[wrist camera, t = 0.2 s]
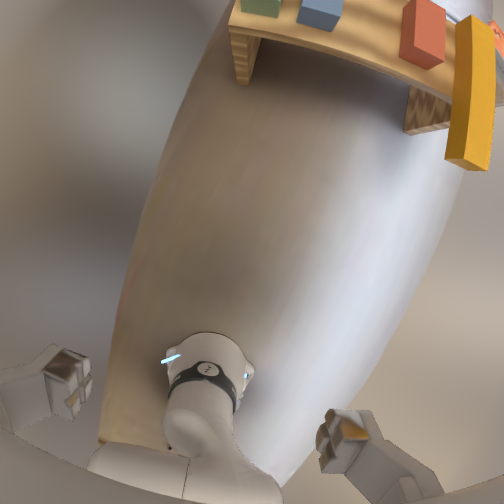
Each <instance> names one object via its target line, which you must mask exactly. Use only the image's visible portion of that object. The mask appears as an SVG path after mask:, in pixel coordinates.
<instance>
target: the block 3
mask: <svg viewBox="0 0 504 504" xmlns="http://www.w3.org/2000/svg"><path fill="white" fill-rule="evenodd" d="M445 40H446V10H445V9H443V8H442V7H440V6H438V5H436V4H434V3H433V2H431V1H429V0H410V1H409V2H408V3H407V4H406V5H405V6H404V7H403V16H402V28H401V39H400V48H399V57H400V58H402V59H404V60H406V61H409V62H411V63H413V64H415V65H417V66H419V67H421V68H423V69H426V70H429V69H431V68H433V67H435V66H437V65H439V64H441V63H443V62H444V61H445Z"/></svg>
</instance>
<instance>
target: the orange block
mask: <svg viewBox="0 0 504 504" xmlns="http://www.w3.org/2000/svg"><path fill="white" fill-rule="evenodd" d="M495 93H496V57H495V38H494V30H493V29H492V28H490V27H489V26H487V25H486V24H485V23H483V22H482V21H480V20H479V19H477V18H476V17H474V16H473V15H470V16H468V17H466V18H465V19H463V20H462V21H460V22H458V23H457V24H456V50H455V74H454V88H453V100H452V109H451V118H450V126H449V133H448V140H447V146H446V152H445V158H444V159H445V160H447V161H449V162H451V163H454V164H456V165H458V166H460V167H462V168H464V169H466V170H471V171H488V167H489V160H490V153H491V145H492V135H493V126H494V113H495Z"/></svg>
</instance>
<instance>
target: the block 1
mask: <svg viewBox="0 0 504 504" xmlns="http://www.w3.org/2000/svg"><path fill="white" fill-rule="evenodd" d="M282 1H283V0H240V3H241V12H245V13H251V14H257V15H262V16H268V17H273V18H278V15H279V12H280V8H281V4H282Z"/></svg>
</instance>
